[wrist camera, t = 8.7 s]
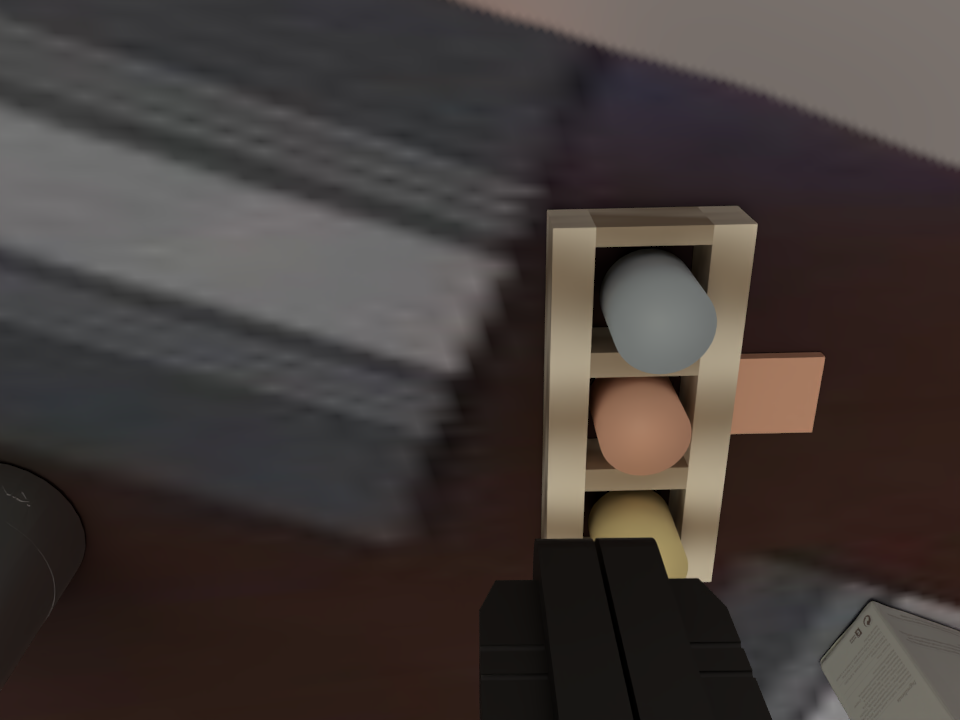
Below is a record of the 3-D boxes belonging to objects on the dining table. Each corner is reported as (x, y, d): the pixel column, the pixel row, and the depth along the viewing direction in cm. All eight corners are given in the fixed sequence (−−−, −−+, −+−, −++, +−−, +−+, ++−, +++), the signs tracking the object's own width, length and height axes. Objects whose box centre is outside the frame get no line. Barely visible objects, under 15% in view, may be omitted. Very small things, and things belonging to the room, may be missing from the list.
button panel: (697, 546, 48) (711, 581, 45) (541, 550, 48) (545, 585, 45) (737, 205, 39) (757, 224, 37) (547, 209, 39) (552, 228, 37)
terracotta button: (669, 432, 44) (687, 474, 41) (586, 434, 44) (597, 476, 41) (676, 358, 43) (695, 395, 39) (589, 360, 43) (601, 397, 39)
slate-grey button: (689, 335, 40) (711, 373, 36) (597, 337, 40) (610, 375, 36) (697, 247, 38) (722, 277, 34) (601, 249, 38) (615, 280, 34)
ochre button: (666, 552, 46) (684, 603, 42) (586, 554, 46) (596, 605, 42) (673, 485, 44) (692, 532, 40) (589, 487, 44) (600, 535, 40)
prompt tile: (807, 426, 45) (812, 432, 44) (725, 428, 45) (728, 434, 44) (820, 351, 43) (825, 357, 42) (735, 353, 43) (738, 359, 42)
